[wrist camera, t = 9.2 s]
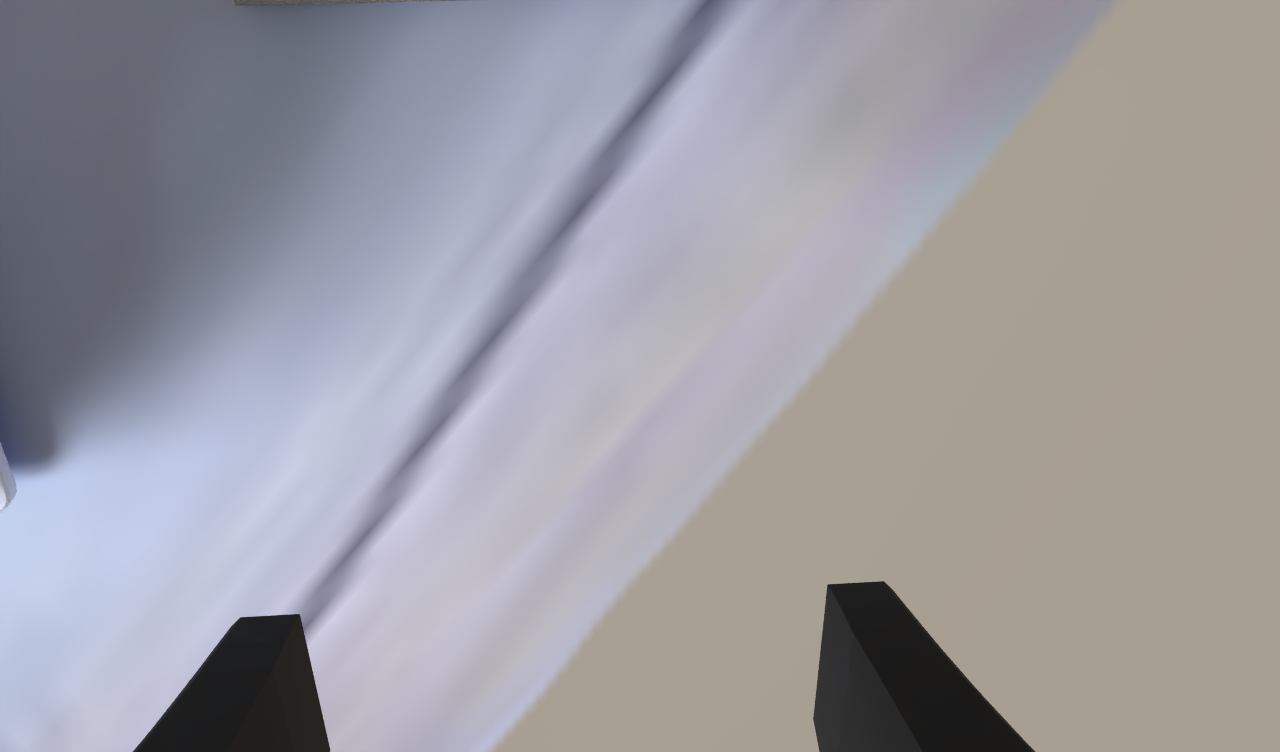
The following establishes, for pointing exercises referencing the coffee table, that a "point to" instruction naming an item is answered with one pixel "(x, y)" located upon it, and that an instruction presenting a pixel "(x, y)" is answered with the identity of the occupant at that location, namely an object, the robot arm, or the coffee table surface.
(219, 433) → the coffee table surface
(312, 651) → the coffee table surface
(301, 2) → the mat
